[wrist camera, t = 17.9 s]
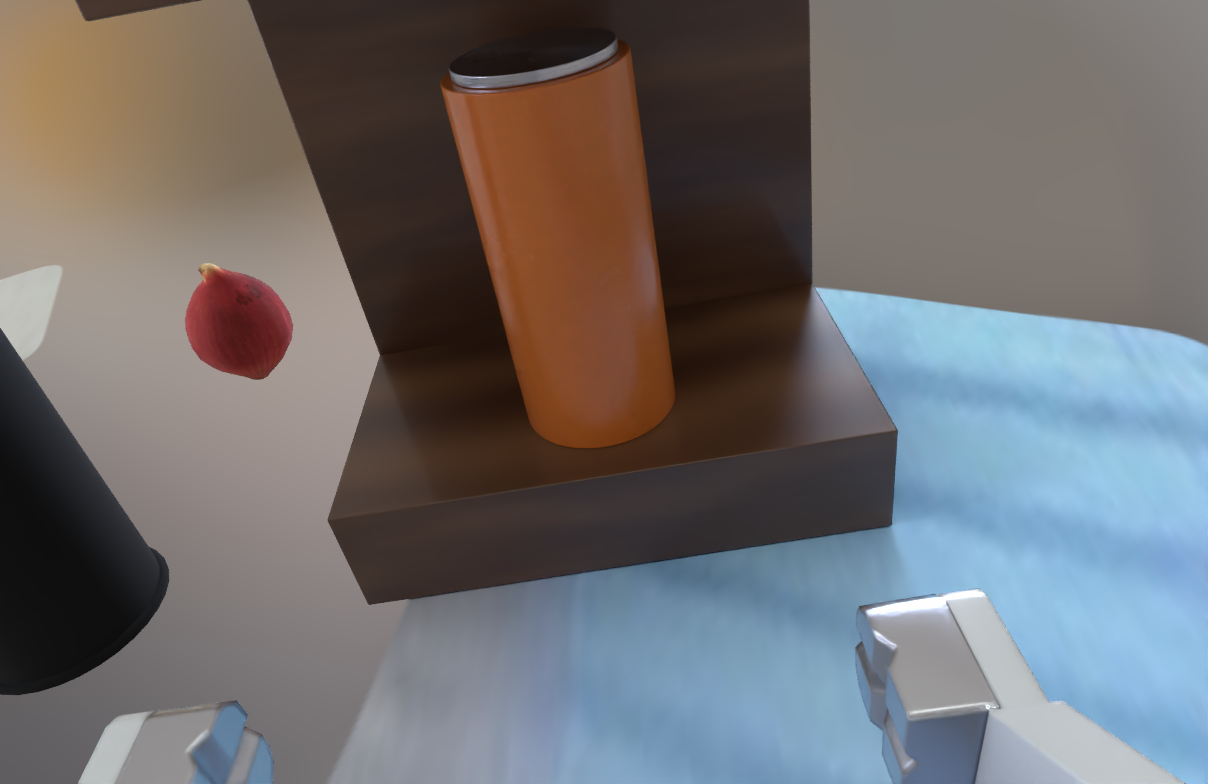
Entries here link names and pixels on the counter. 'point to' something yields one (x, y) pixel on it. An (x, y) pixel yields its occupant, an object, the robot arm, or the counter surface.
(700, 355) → the shelf
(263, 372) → the onion
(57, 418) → the aerosol can
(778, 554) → the counter surface
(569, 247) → the can
